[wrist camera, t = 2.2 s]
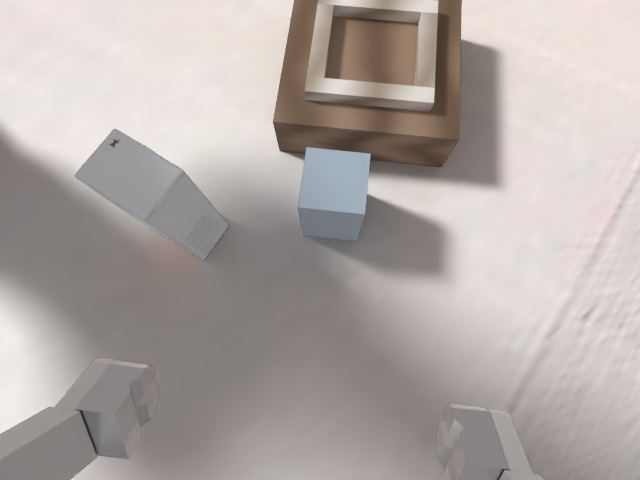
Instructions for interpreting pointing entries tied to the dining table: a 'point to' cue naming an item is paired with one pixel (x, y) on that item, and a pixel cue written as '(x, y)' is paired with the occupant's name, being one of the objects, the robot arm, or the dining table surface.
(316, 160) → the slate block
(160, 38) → the dining table surface
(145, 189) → the skincare box
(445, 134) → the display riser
